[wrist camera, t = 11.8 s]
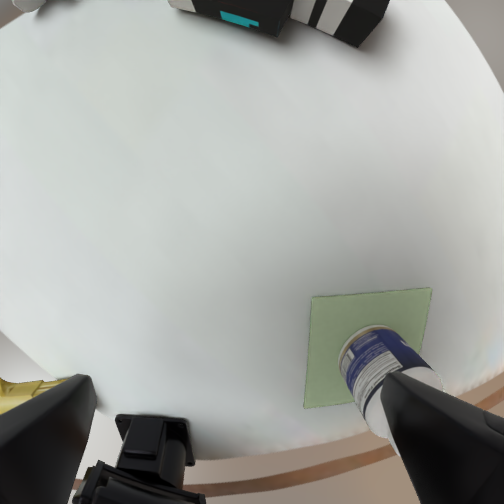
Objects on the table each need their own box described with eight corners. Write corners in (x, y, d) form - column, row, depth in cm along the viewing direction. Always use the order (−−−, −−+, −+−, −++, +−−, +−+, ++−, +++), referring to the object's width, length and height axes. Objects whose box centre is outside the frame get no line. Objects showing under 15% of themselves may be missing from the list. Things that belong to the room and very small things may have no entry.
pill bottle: (408, 348, 23) (473, 420, 14) (359, 390, 24) (405, 474, 14) (377, 308, 22) (450, 382, 12) (322, 356, 23) (367, 449, 13)
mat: (407, 388, 25) (409, 390, 24) (303, 406, 24) (304, 409, 24) (430, 287, 22) (432, 289, 22) (311, 296, 22) (312, 299, 21)
